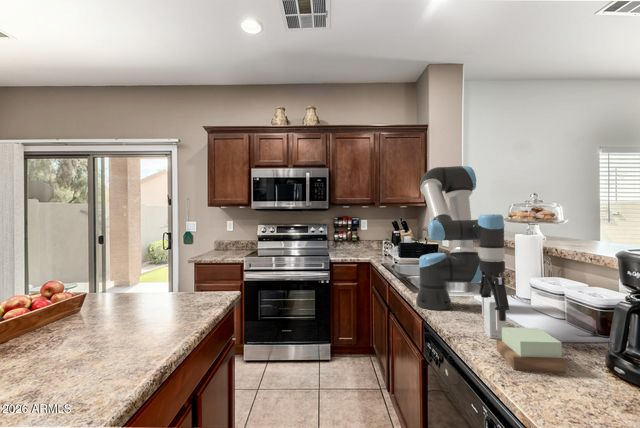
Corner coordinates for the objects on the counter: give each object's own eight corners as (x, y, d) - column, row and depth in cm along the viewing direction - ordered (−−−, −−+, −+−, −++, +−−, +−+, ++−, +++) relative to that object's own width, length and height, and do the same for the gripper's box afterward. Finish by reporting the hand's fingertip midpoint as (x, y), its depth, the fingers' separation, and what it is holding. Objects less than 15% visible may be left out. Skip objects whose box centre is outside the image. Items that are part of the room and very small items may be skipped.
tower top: (502, 340, 90) (501, 327, 90) (538, 341, 88) (537, 328, 88) (520, 356, 80) (520, 341, 80) (561, 357, 78) (561, 342, 79)
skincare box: (504, 339, 99) (503, 302, 99) (490, 338, 100) (489, 302, 100) (497, 332, 105) (496, 297, 105) (484, 331, 106) (483, 297, 106)
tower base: (496, 351, 91) (496, 338, 91) (541, 354, 89) (540, 341, 89) (514, 372, 79) (513, 357, 79) (566, 376, 77) (565, 360, 77)
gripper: (520, 266, 89) (522, 338, 89) (490, 255, 114) (492, 311, 114) (493, 265, 91) (495, 336, 91) (469, 255, 115) (470, 310, 115)
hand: (493, 322), depth 102 cm, fingers open, 13 cm apart
